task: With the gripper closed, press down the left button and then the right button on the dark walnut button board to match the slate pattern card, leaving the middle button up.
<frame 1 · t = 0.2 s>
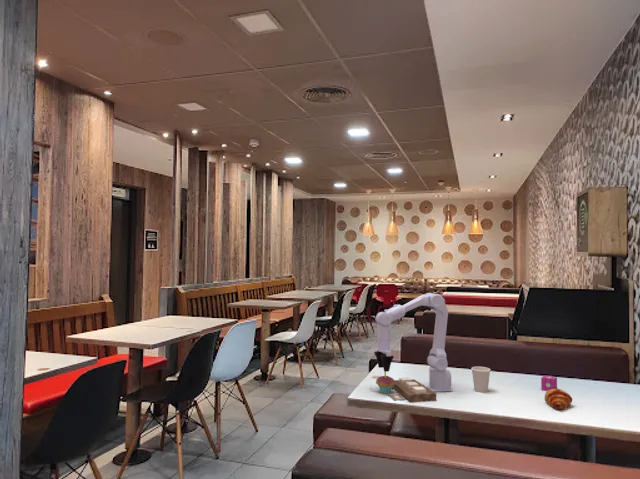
hand: (383, 369, 207), 10 cm above the table, fingers open, 7 cm apart
button middle: (412, 386, 204), point 3 cm above the table, slide at 0.0 cm
pattern card: (396, 397, 197), on the table
button board: (412, 393, 204), on the table
button 1: (405, 382, 212), point 3 cm above the table, slide at 0.0 cm
puzzle toy: (549, 390, 211), on the table
cupcake: (385, 392, 206), on the table
dixie cup: (481, 391, 209), on the table
croissant: (558, 405, 189), on the table
button 2: (419, 391, 196), point 3 cm above the table, slide at 0.0 cm
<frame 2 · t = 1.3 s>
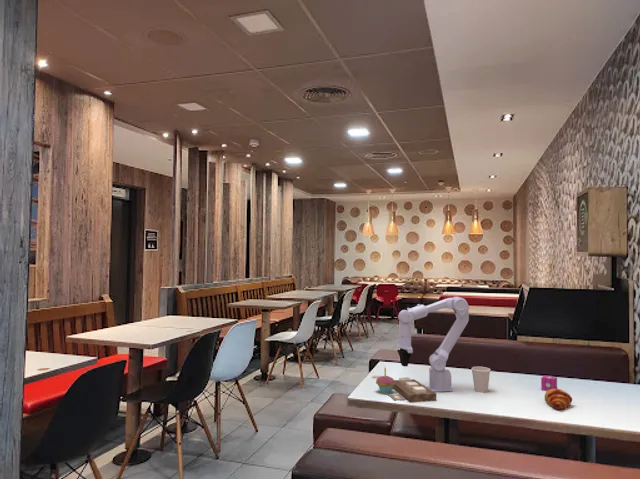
hand: (404, 365, 212), 10 cm above the table, fingers closed
nothing on the table moved.
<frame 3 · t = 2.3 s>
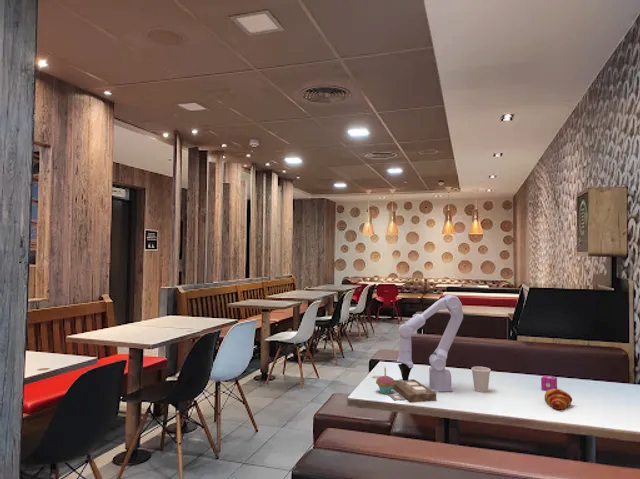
hand: (405, 380, 212), 4 cm above the table, fingers closed, pressing on button 1
button 1: (405, 383, 212), point 2 cm above the table, slide at 0.6 cm, touching gripper
everything else where it was.
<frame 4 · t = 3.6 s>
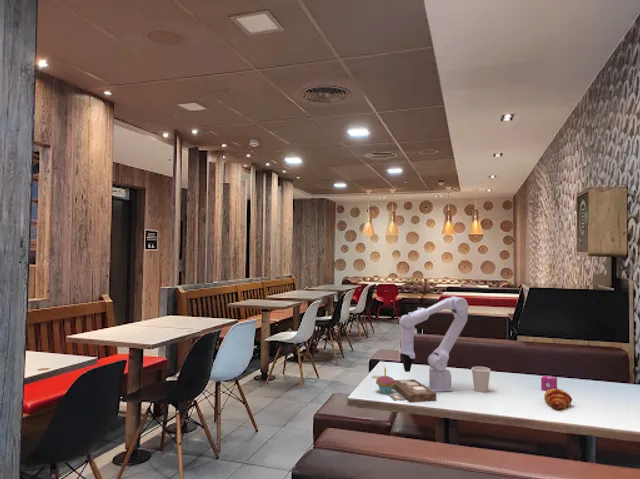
hand: (407, 371, 210), 8 cm above the table, fingers closed
button 1: (405, 384, 212), point 2 cm above the table, slide at 1.2 cm
everything else where it was.
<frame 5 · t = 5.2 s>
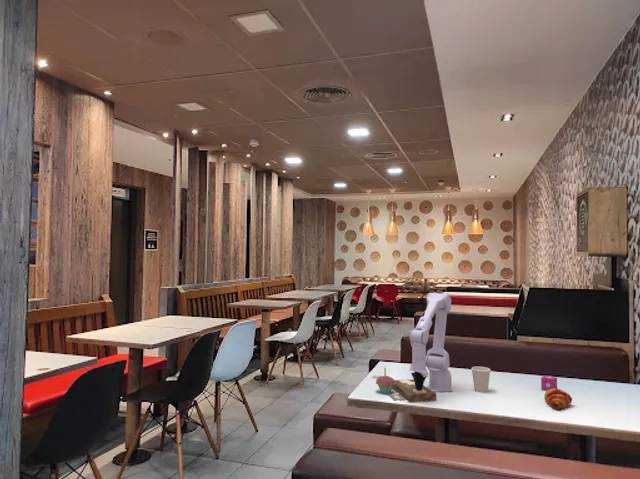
hand: (419, 390, 196), 4 cm above the table, fingers closed, pressing on button 2
button 2: (419, 393, 196), point 2 cm above the table, slide at 0.8 cm, touching gripper
everything else where it was.
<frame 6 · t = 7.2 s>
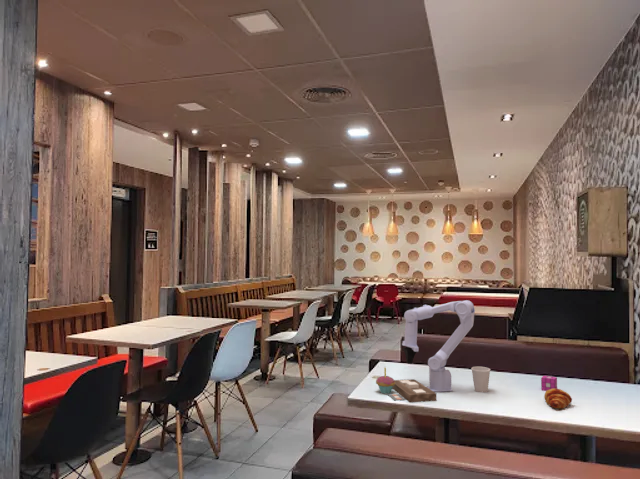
hand: (409, 363, 218), 10 cm above the table, fingers closed
button 2: (419, 394, 196), point 2 cm above the table, slide at 1.2 cm
everything else where it was.
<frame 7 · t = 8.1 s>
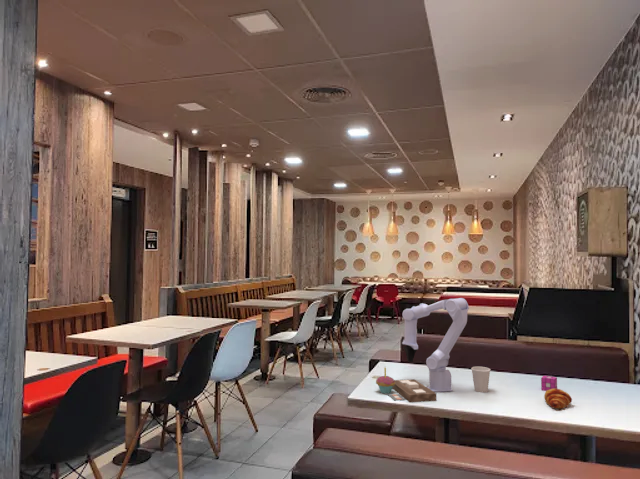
hand: (410, 361, 221), 10 cm above the table, fingers closed
nothing on the table moved.
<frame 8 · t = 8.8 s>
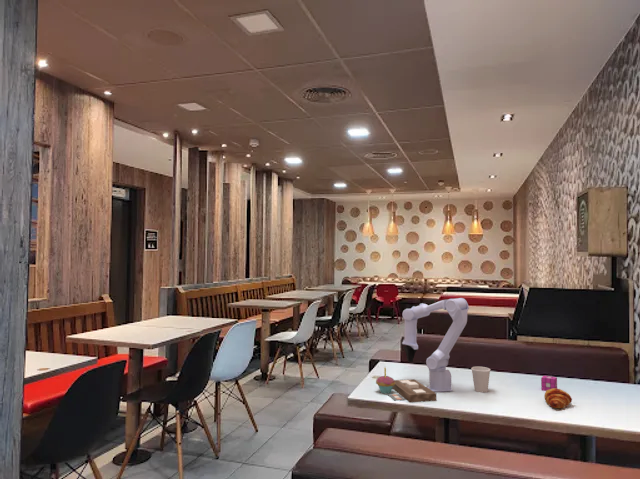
hand: (410, 361, 221), 10 cm above the table, fingers closed
nothing on the table moved.
at the end: button 1 slide at 1.2 cm; button 2 slide at 1.2 cm; button middle slide at 0.0 cm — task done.
